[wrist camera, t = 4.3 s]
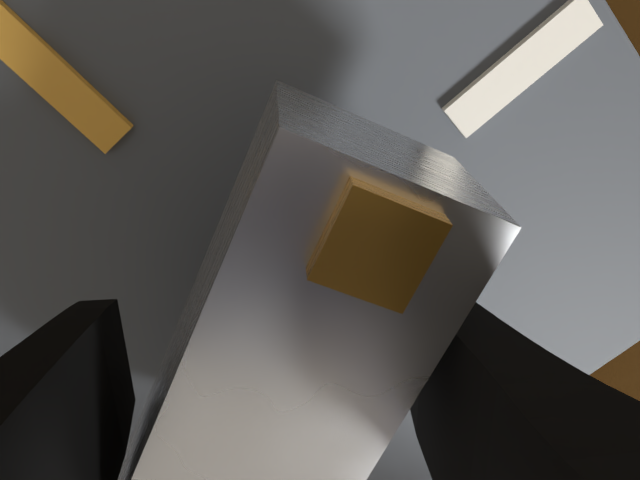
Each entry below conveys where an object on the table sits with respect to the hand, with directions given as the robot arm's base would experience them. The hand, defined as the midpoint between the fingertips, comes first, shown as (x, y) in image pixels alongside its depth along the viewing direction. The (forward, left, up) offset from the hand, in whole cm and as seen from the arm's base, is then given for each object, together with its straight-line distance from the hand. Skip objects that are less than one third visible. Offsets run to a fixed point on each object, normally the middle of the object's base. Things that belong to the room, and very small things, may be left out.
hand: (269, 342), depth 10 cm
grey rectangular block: (0, 0, -2) cm, 2 cm away
